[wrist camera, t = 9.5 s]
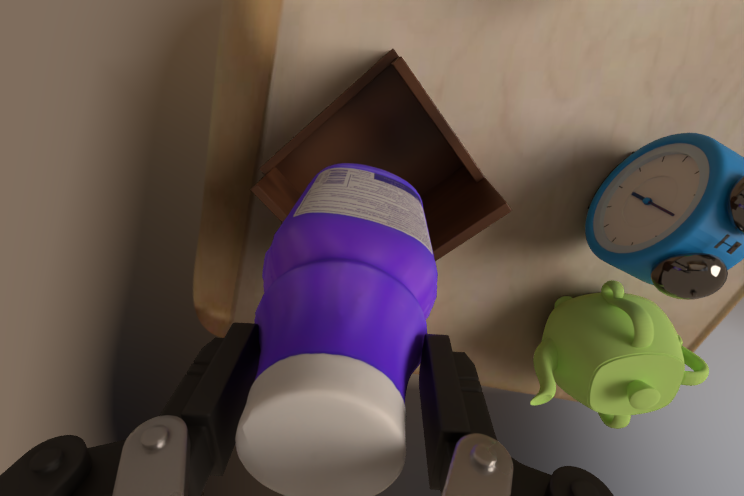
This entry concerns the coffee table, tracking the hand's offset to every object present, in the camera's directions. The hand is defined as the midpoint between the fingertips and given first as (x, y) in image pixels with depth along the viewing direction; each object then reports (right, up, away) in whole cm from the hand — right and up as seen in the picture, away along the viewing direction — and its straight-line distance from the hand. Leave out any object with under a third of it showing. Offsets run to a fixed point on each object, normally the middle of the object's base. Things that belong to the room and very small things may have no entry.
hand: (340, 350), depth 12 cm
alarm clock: (+29, +10, +29) cm, 42 cm away
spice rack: (+1, +13, +28) cm, 31 cm away
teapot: (+28, -6, +37) cm, 47 cm away
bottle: (+1, +6, +12) cm, 14 cm away
